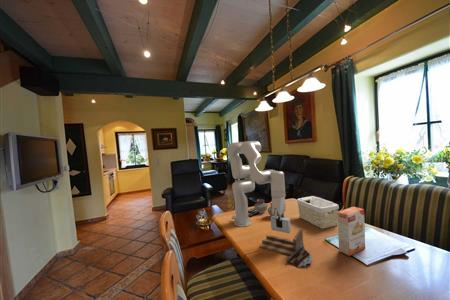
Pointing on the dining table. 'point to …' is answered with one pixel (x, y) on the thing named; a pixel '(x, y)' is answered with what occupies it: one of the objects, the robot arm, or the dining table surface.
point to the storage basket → (318, 211)
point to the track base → (283, 243)
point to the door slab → (285, 225)
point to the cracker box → (351, 230)
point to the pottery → (263, 207)
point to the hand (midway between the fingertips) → (280, 225)
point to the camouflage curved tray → (300, 257)
